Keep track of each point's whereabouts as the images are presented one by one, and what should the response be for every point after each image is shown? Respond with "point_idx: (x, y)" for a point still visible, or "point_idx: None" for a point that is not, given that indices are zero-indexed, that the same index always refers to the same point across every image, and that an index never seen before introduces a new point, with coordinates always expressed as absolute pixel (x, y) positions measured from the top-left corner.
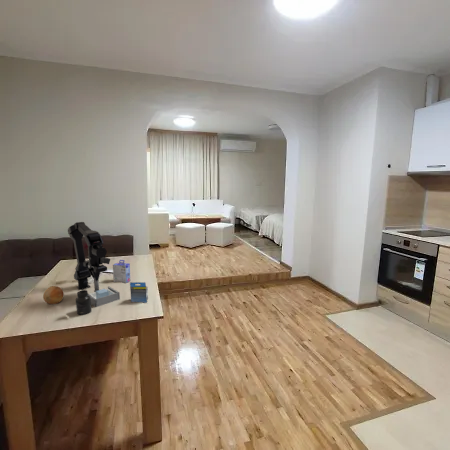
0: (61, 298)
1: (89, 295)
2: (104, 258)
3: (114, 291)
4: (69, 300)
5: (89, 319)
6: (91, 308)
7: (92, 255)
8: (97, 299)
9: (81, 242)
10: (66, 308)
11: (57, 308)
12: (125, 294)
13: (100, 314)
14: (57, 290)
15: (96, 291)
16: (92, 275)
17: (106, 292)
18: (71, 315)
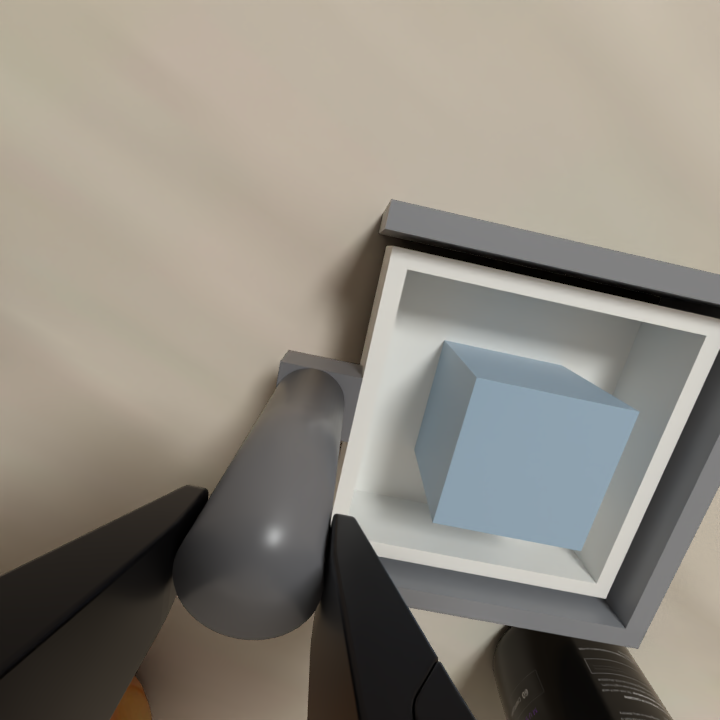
0: (135, 716)
1: (435, 605)
2: None
3: (652, 290)
4: None
5: (686, 686)
6: (623, 651)
7: None
8: (648, 620)
9: None
10: (302, 674)
11: (232, 708)
12: (613, 77)
13: (714, 597)
14: None
15: (458, 526)
16: (106, 709)
17: (613, 437)
18: (474, 716)
